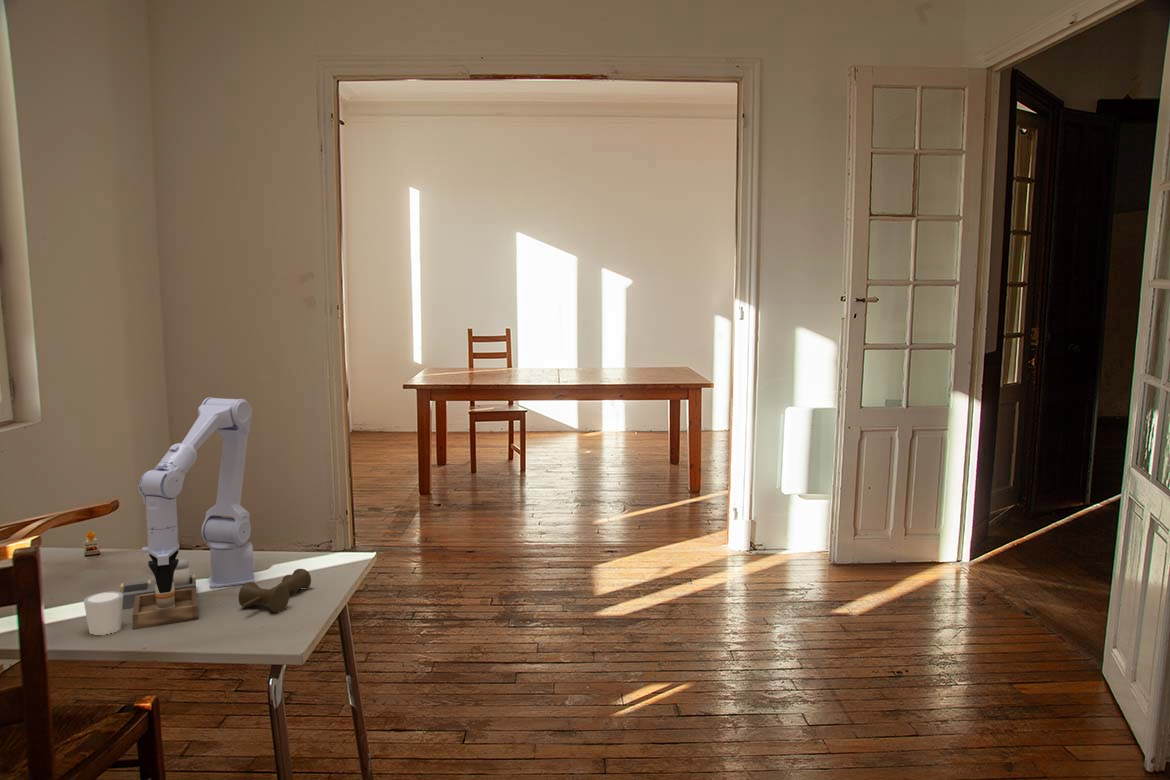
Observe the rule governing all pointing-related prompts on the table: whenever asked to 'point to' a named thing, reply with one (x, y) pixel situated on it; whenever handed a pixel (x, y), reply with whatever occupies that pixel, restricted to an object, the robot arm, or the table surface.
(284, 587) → the kendama
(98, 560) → the table surface
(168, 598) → the marked fuse
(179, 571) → the plain fuse
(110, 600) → the white tapered cup
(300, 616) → the table surface
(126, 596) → the fuse holder
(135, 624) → the tray
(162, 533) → the robot arm
